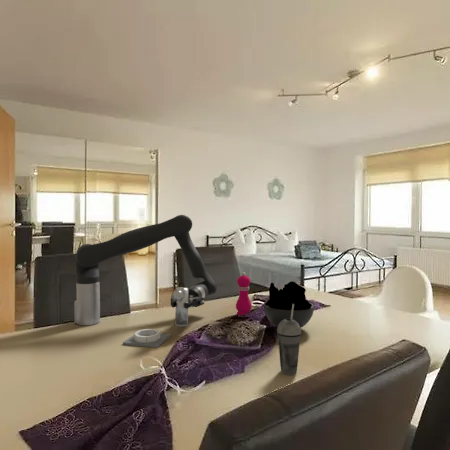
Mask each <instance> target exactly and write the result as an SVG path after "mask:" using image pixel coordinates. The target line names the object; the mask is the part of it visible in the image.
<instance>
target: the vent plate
mask: <svg viewBox="0 0 450 450" xmlns="http://www.w3.org/2000/svg"><path fill="white" fill-rule="evenodd" d="M170 337H171V334H168V333H167V334H166V333H161V331H159V329H154V328H146V329H145V328H144V329H139V330H137V331H135V332H134V333H133V334H132V336H130V337H129V338H127V339H125V340H124V341H123V342H122V345H123V346H132V347H133V346H134V347H142V348H143V347H145V348H153V349H157V348H159V347H160V346H162V344H163V343H165V342H166V341H167V340H169V338H170Z"/></svg>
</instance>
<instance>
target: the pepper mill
mask: <svg viewBox="0 0 450 450" xmlns="http://www.w3.org/2000/svg"><path fill="white" fill-rule="evenodd" d="M236 280H237V281H236V282H237V285H238V286H237V287H238V291H239V292H238V293H239V295H238V298H237V300H236V303H235V308H236V316H237V315H244V314H246V313H248V312H251V310H252V307H253V306H252V302H251V299H250V297H249V291H250V284H251V278H250V277H249V276H247V274H246V272H245V271H243V272H242V273H241V275H240V276H239V277H238V278H237V279H236Z"/></svg>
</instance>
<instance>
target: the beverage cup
mask: <svg viewBox="0 0 450 450" xmlns="http://www.w3.org/2000/svg"><path fill="white" fill-rule="evenodd" d="M293 309H294V304H292V312H291V319H289V318H288V319H284V320H282V321H281V322H280V323H279V325H278V327H276V334H277V335H276V336H277V340H278V353H279V363H280V364H279V365H280V372H281V373H282V374H283V375H287V376H294V375H296V374H297V371H298V366H299V365H298V364H299V356H300V355H299V352H300V343H301V339H302V335H303V333H302V330H301V328H302V327H301V328H300V326H299V324H298V323H297V322H296V321H295V320H293V319H292V317H293Z"/></svg>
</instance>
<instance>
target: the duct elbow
mask: <svg viewBox="0 0 450 450" xmlns="http://www.w3.org/2000/svg"><path fill="white" fill-rule="evenodd" d="M188 289H189V287H186V286H185V287H183V286H180V287H175V290H174V291H173V292H172V293H171V295H170V299H171V298H172V300H174V301H176V307H175V309H174V310H175V314H174V315H175V316H174V317H175V319H174V320H175V323H174V326H175V327H180V328H181V327H182V328H183V327H187V326H189V308H188V309H185V303H186V302H188Z"/></svg>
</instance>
